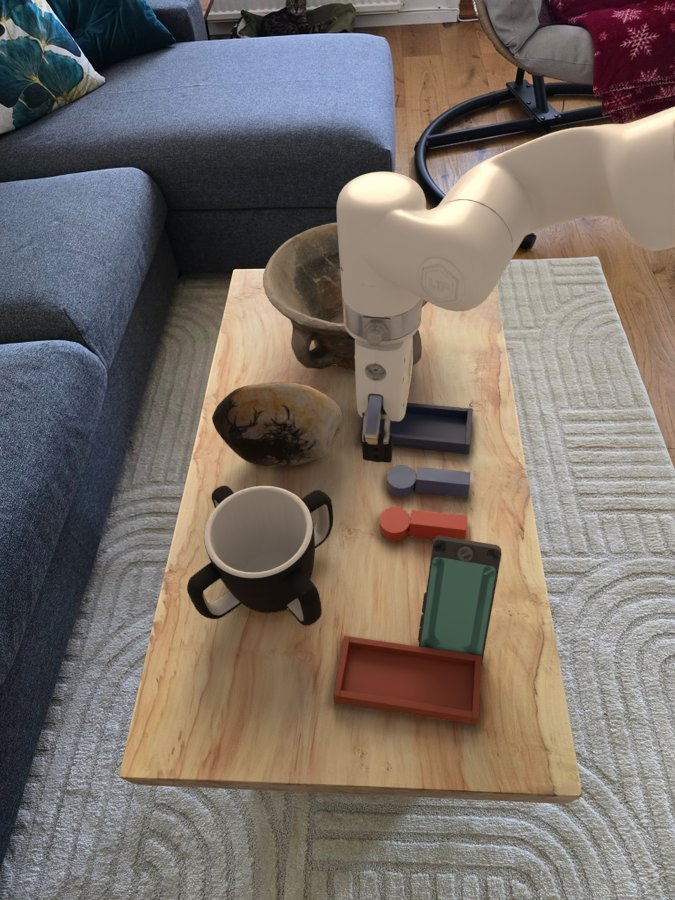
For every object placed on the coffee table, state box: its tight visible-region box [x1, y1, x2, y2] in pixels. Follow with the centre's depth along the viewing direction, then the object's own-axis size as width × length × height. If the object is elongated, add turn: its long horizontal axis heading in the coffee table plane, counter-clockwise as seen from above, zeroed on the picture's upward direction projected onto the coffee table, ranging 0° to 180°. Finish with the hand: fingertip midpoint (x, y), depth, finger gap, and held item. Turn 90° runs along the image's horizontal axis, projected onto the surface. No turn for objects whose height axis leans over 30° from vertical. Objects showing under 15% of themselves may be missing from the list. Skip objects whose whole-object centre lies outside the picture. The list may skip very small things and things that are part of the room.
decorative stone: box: [211, 381, 344, 467], centre depth 91 cm, size 18×9×15 cm, turn 90°
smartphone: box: [417, 536, 502, 667], centre depth 74 cm, size 7×1×15 cm
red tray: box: [332, 635, 483, 726], centre depth 75 cm, size 15×7×2 cm, turn 80°
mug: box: [186, 485, 334, 627], centre depth 80 cm, size 16×16×12 cm
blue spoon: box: [386, 464, 471, 499], centre depth 91 cm, size 11×4×3 cm, turn 80°
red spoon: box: [378, 506, 468, 541], centre depth 87 cm, size 11×4×3 cm, turn 80°
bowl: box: [262, 222, 428, 370], centre depth 106 cm, size 27×26×15 cm
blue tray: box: [359, 402, 474, 455], centre depth 98 cm, size 15×7×2 cm, turn 80°
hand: (383, 426), depth 78 cm, fingers open, 9 cm apart
